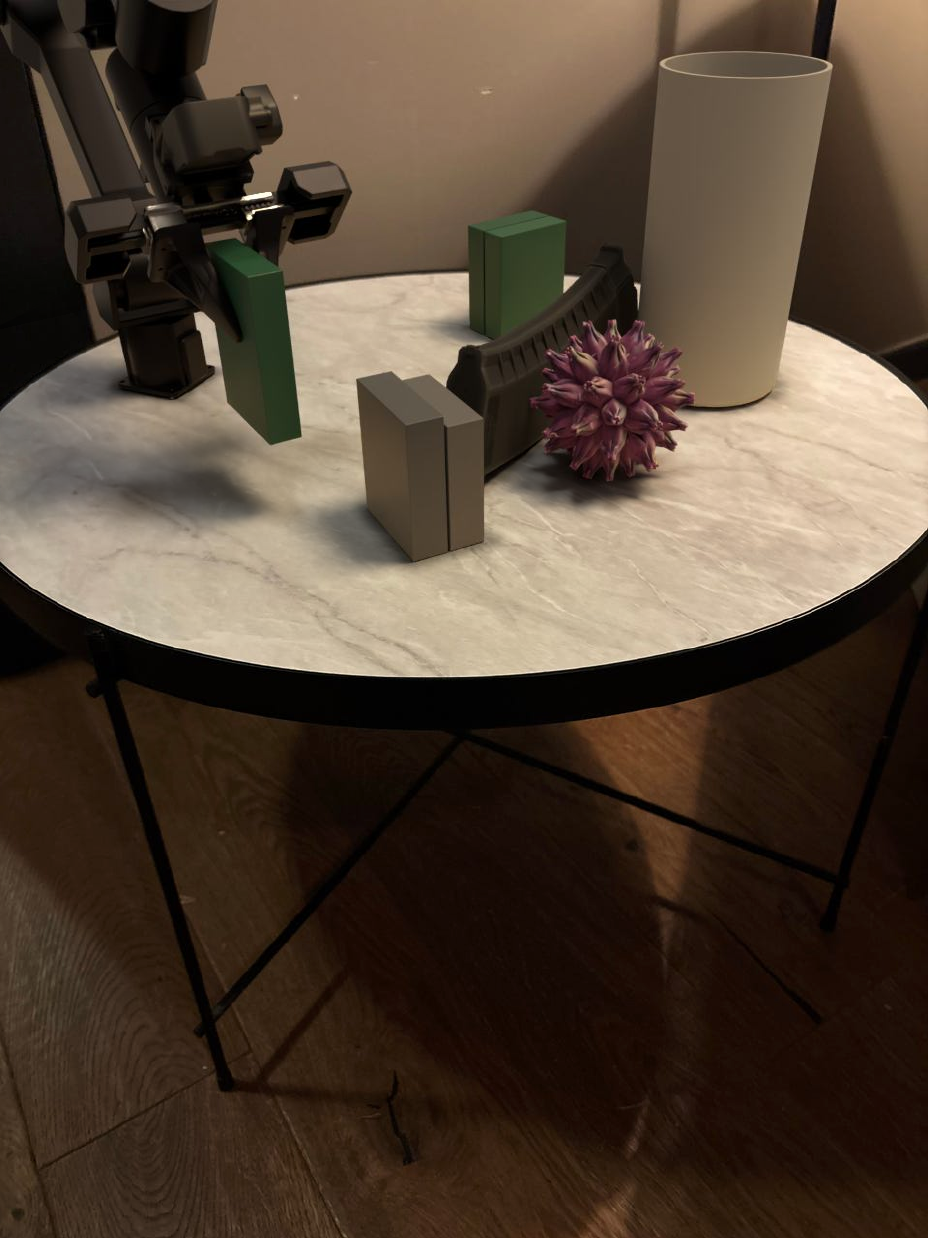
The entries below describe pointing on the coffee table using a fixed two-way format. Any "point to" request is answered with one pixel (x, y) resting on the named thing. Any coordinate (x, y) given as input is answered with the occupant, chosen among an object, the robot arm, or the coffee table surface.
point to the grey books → (422, 463)
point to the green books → (514, 270)
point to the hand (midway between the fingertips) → (258, 335)
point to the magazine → (539, 355)
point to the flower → (612, 400)
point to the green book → (257, 342)
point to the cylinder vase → (729, 214)
